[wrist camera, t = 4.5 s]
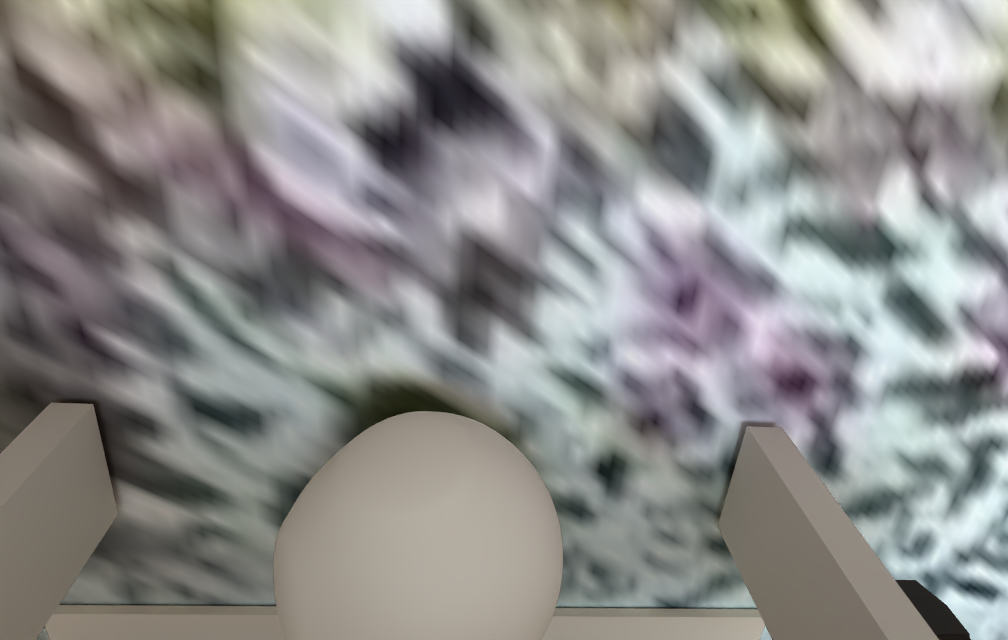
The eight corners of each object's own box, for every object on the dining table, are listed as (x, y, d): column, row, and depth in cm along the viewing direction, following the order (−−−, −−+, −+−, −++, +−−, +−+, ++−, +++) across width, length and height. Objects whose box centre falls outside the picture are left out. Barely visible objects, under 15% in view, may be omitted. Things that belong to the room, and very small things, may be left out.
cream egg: (304, 351, 12) (217, 552, 8) (558, 362, 13) (611, 558, 8) (315, 547, 15) (251, 791, 10) (531, 550, 15) (562, 786, 11)
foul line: (46, 604, 15) (41, 614, 15) (764, 609, 16) (767, 617, 16) (57, 635, 15) (51, 644, 15) (753, 636, 17) (757, 645, 17)
